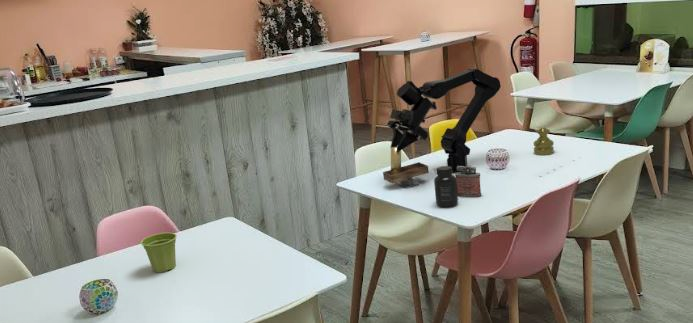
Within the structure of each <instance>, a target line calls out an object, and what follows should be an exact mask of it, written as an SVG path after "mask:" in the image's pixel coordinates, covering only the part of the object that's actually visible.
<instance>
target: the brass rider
mask: <svg viewBox="0 0 693 323" xmlns="http://www.w3.org/2000/svg"><path fill="white" fill-rule="evenodd" d="M390 147H391V146H390ZM397 147H398V146H392V147H391V148H390V170H391V175H395V174H399V173H401V167H402V150H401V151H399V152H398V151H397V150H396V149H397Z"/></svg>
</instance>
